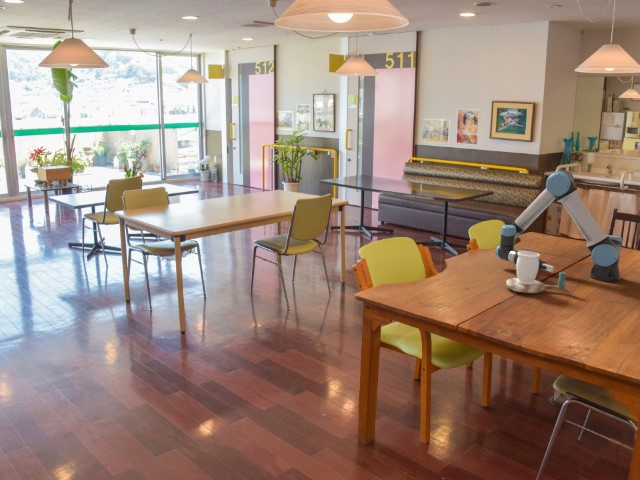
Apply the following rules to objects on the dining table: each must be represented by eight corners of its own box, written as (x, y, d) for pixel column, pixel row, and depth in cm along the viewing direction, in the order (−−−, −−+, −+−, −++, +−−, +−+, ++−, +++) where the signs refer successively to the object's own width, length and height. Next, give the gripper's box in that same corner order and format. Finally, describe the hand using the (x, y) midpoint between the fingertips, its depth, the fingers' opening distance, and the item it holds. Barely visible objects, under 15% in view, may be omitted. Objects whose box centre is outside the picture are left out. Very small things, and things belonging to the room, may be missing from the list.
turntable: (508, 291, 293) (510, 274, 291) (503, 280, 310) (505, 264, 308) (567, 295, 289) (570, 278, 287) (559, 284, 306) (561, 268, 304)
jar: (530, 287, 293) (533, 257, 289) (510, 282, 300) (513, 253, 296) (540, 282, 300) (543, 253, 297) (521, 278, 307) (524, 249, 304)
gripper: (527, 263, 330) (561, 275, 309) (508, 266, 325) (542, 278, 304) (528, 250, 328) (562, 261, 308) (510, 252, 323) (543, 263, 302)
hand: (552, 269), depth 306 cm, fingers closed
